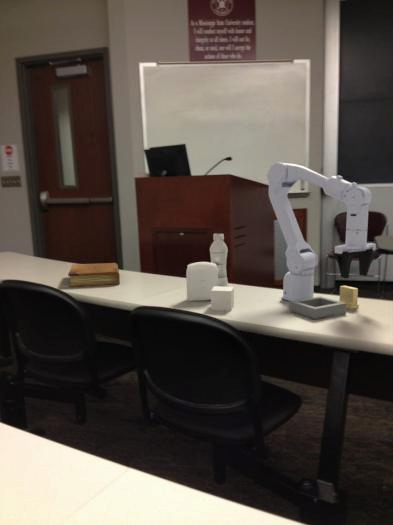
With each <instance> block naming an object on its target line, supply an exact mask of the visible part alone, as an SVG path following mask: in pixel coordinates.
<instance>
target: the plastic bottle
mask: <svg viewBox="0 0 393 525" xmlns="http://www.w3.org/2000/svg"><path fill="white" fill-rule="evenodd" d="M224 240H225V236H224V233H213V242H211V245H210V247H209V255H210V263H214V264H216V266H217V269H218V286H221V287H228V285H229V280H228V277H227V258H228V252H229V250H228V246H227V244H226V243H225V241H224Z"/></svg>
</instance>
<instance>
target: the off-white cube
mask: <svg viewBox="0 0 393 525" xmlns="http://www.w3.org/2000/svg"><path fill="white" fill-rule="evenodd" d="M234 296H235V287H234V286H227V287H221V286H214V287H213V289H212V290H211V300H210V308H211V309H210V310H211V311H224V310H226V311H228V312H232V310H233V308H234V305H235V300H234V299H235V297H234Z"/></svg>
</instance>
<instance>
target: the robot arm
mask: <svg viewBox="0 0 393 525" xmlns="http://www.w3.org/2000/svg"><path fill="white" fill-rule="evenodd" d="M266 178H267V181H268V198H269V200H270V204H271V205H272V208H273V211H274V214H275V216H276V219H277V222H278V224H279V227H280V230H281V232H282V235H283V238H284V241H285V243H286V246H287V247H286V250H285V252H284V253H285V258H286V267H287V269H288V270H289V271H287V272H286V273H285V275H284V276H283V282H282V286H283V290H282V296H281V297H280V299H281V300H286V301H289V302H290V301H296V300H301V299H307V298H313V297H314V292H315V291H314V286H315V285H314V283H315V282H314V281H315V268H317V267H318V265H319V257H318V255H317V254H316V252H314V250H313V249H312V247H311V245H310V244H309V243H308V242H307V241H306V240H305V238H304V236H303V234H302V231H301V228H300V226H299V223H298V220H297V218H296V216H295V212H294V210H293V207H292V205H291V202H290V200H289V197H288V194H289V193H290V190H291V189H292V188H294V186H295V184H296V183H297V182H298V181H304V182H307V183H309V184H312V185H315V186H317V187H319V188H322V190H323V192H324V194H325V195H327V196H329V197H332V198H333V199H336V200H339V201H340V202H342V203H344V204H345V205H346V208H347V209H346V224H345V225H346V227H345V244H339V245H335V246H334V252H333V257H334V258H335V260H336V263H337V265H338V268H339V273H340V277H341V278H343V279H349V277H350V271H351V265H352V262H353V258H354V257H355V256H354V255H353V254H350V253H354V252H355V253H356V254H357V257H358V269H359V270H358V273H359V275H360V276H363V277H367V276H368V273H369V270H370V267H371V265H372V263H373V261H374V259H375V257H376V256H377V251H376V248H377V247H376V246H377V244H376V243H373V242H367V241H368V228H369V226H368V224H369V205H370V204H371V202H372V201H373V193H372V190H370V189H369V188H367V186H363V185H362V186H358V183H357V182H350V181H348V180H345V179H344V177H343V176H342V175H338V174H337V175H332V176H330V177H326V176H325V175H323V174H320V173H318V172H316V171H314V170H312V169H310V168H308V167H306V166H303V165H301V164H299V165H298V164H296V163H295V162H294V163H293V162H291V163H285V162H274V163H272V164H271V166H270V167H269V169H268V171H267V174H266Z"/></svg>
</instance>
